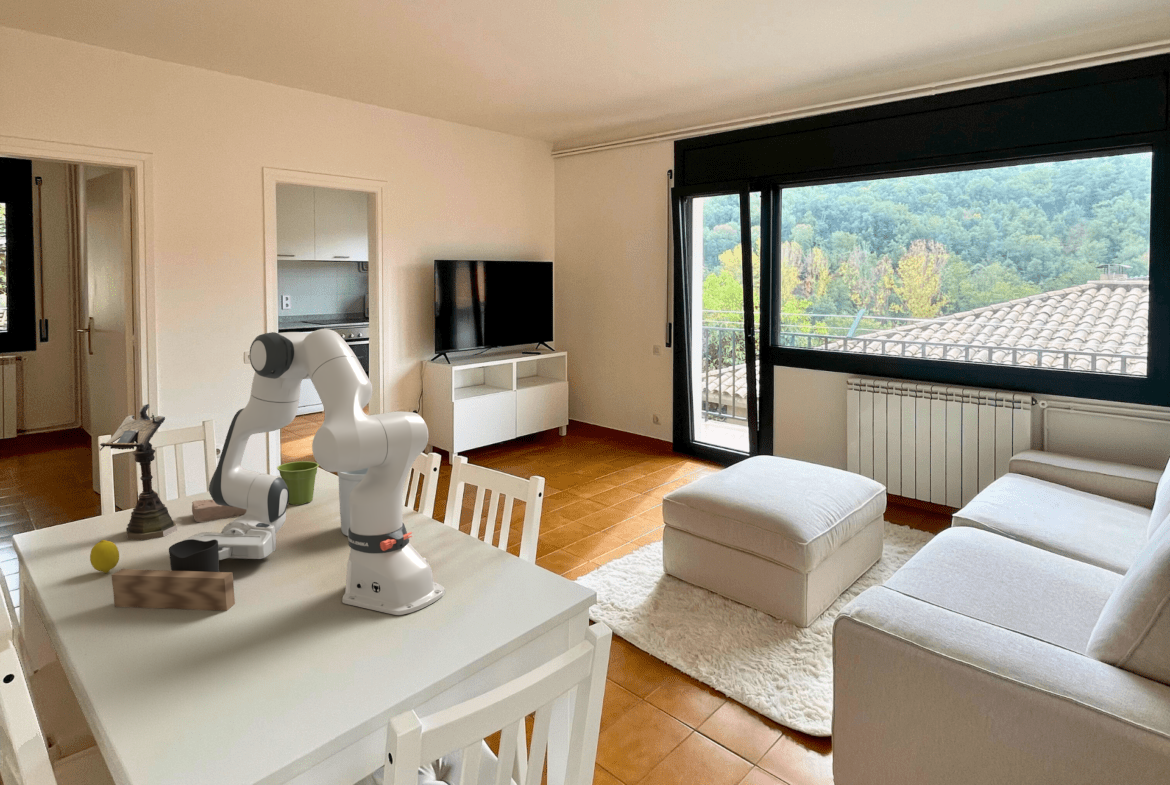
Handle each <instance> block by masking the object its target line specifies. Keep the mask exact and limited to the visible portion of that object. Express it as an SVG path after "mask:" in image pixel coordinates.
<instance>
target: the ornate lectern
mask: <svg viewBox="0 0 1170 785" xmlns="http://www.w3.org/2000/svg"><path fill="white" fill-rule="evenodd" d="M149 408H150V404H149V403H147V404H145V405H144V404H143V405H142V406H141V407H140V409H139V417H138V418H137V419H135V415H132V414H130V415H127V416H126V417H125V418H124V420H123V421H122V422H121V424H120V426H119V427H118V428H117V430H116V431H115V433H114V434H112V436H110V438H109V440H107V442H101V443H99V445H100V446H101V447H100V449H99V452H100V451H102V450H103V449H104V448H105V447H109V449H110V450H111V449H114V450H131V449H132V450H134V451H133V452H132V455H133V456H134V461H135V463H139V465H140V472H141V476H140V477H139V478H140V480H141V482H142V491H141V493H139V495H138V498H137V499H138V500H137V503H135V504H136V505H135V507H133V509H132V510H133V511H132V512H131V514H130V520H129V523H128V524H127V525H126V526H127V527H126V529H125V530H126V536H127V540H137V541H138V540H139V541H146V540H151V539H152V540H153V539H159V538H164V537H165V536H168V535H170V534H172V533H174V532H177V531H178V527H177V523H176V521H175V520H173V519H172V516H170V513H169V510H168V507H167V506H166V504H165V503H163V502H162V500H161V499H160V497H159V494H158V492H157V491H155V490H154V489H153V487H152V486H153V484H152V479H153V478H154V476H153V475H152V470H151V463H152V462H153V461H154V460H155V459H156V458H155V453H156V449H154V448H152V447H153V444H152V443H151V442H150V441H151V439H152V438H153V437H154V435H155V433H156V432H157V430H159V428H160V427H161V425H162V424H163V423H164V422H165V419H166V416H163V415H158V416H156V415H155V413H154V412H152V413H151V416H149V415H148V414H147V411H148V409H149Z"/></svg>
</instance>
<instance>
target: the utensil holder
mask: <svg viewBox="0 0 1170 785" xmlns="http://www.w3.org/2000/svg"><path fill="white" fill-rule="evenodd" d="M368 469H369V468H365V469H360V470H356V471H351V472H336V473H337V476H338V496H339V497H338V498H339V499H338V500H339V516H340V528H341V533H342V534H343V535H344V536H347V537H348V530H349V528H350V514H349V496H350V493H351V491H352V490H353V488H354V487H355V486H356V485H357V484H358V483H360V482H361V481H362V480H363V478H364V477H365V475H366V473H367V471H368Z"/></svg>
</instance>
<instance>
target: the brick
mask: <svg viewBox="0 0 1170 785" xmlns="http://www.w3.org/2000/svg"><path fill="white" fill-rule="evenodd" d="M191 504H192V505H191V513H192V515H193V519H194V521H195V522H196V523H203V522H204V523H205V522H210V521H212V522H213V521H217V520H223V519H229V518H235V517H236V518H237V517H240V516H243V515H244V514H245V513H246V511H247V510H246V509H242V508H238V507H231V506H224V505H218V504H216V503H215V501H214V500H213V499H200V500H199V499H198V500H194V501H193V500H192V502H191Z"/></svg>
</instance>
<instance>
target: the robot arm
mask: <svg viewBox="0 0 1170 785" xmlns="http://www.w3.org/2000/svg"><path fill="white" fill-rule="evenodd" d="M249 362H250V366H251V367H252V369H253V371H254V374H253V379H252V383H251V390H250V396H249V400H248V402H247V404H246V406H245V407H243V408H240V409H239V410H237V412H236V413H235V414H234V415H233V418H232V420H231V422H230V424H229V428H228V431H227V433H226V437H225V440H224V444H223V446H222V451H221V454H220V456H219V460H218V463H217V466H216V468H215V470H214V473H213V475H212V477H211V479H210V482H209V485H208V491H209V495H210V497H211V498H212V499H211V500H214V501H215V503H216V504H218V505H224V506H231V507H238V508H242V509H246V510H247V511H246V513H245V514H244V515H241V516H237V517H236V518H235V519H233V520H232V521H230V522H229V523H227V524H226V525H225V526H223V528H222V529H221V531H220V532H216V531H214V532H210V531H209V532H207V531H206V532H205V531H204V532H198V533H196V534H192V535H190V536H189V537H187V538H185V539H183V540H182V541H184V540H189V539H194V540H200V541H210V540H214V539H215V540H217V541H218V554H219V561H222V560H225V559H241V560H242V559H244V560H248V559H250V560H251V559H252V560H261V559H265V558H266V557H268V556H269V555H271V554H272V553H273V552H274V551H276V550H277V535H276V534H277V533H278V532H279V531H280V530H281V528H282V527H283V526H284V524H285V522H286V519H287V508H288V505H289V503H288V502H289V490H288V487H287V485H286V483H285V481H284V480H283V479H282V477H281V476H276V475H272V474H267V473H264V472H263V473H261V472H258V471H253V470H249V469H246V468H244V467H243V466H242V464H241V463H242V460H243V457H244V455H245V454H244V453H245V450H246V447H247V443H248V440H249V439H250V437H251V436H252V435H257V434H263V433H264V434H265V433H270V432H274V431H279V430H280V429H283V428H286V427H287V426H289V425H290V424H291V423H292V422H293V421H294V420H295V418H296V416H297V413H298V410H299V403H300V396H301V384H302V381H303V380H310V381H311V382H312V385H313V386H314V389H315V390H316V393H317V395H318V396H319V399H320V401H321V404H322V407H323V409H324V420H323V422H322V424H321V426H320V427H319V428H318V429H317V431H316V432H315V434H314V437H313V439H312V443H311V445H312V447H311V448H312V455H313V458H314V460H315V461H316V463H318V464H319V467H320V468H321V469H323V470H325V471H326V472H329V473H337V472H351V471H356V470H360V469H365V468H369V469H368V471H367V473H366V475H365V477H364V478H363V480H362V481H361V482H360V483H358V484H357V485H356V486H355V487H354V488H353V490H352V491H351V493H350V496H349V514H350V528H349V530H348V536H347V540H348V546H349V548H350V552H349V556H348V560H347V563H346V574H345V575H346V579H345V589H344V594H343V595H342V598H341V599H342V604H345V605H349V606H354V607H359V608H364V609H368V610H370V611H371V610H372V611H377V612H381V613H386V614H390V615H395V616H402V615H406V614H410V613H414V612H417V611H419V610H421V609H424V608H426V607H428V606H429V605H431V604H433V603H435V602H436V601H438V600H439V599H441V598H442V597H443V596H444V594H445V593H446V591H445V590H446V589H445V587H444V586H443V585H441V584H440V583H438V582H436V581H434V574H433V571H432V567H431V565H430V564H429V562H428V559H427V558H426V557H425V556H421V554H420V553H419V552H418V551H417V550H416V548H414V546H413V545H412V544H411V543H410V538H412V537H413V536H412V534H413V532H412V531H410V532H408V531H407V527H406V526H405V524H404V522H403V498H404V497H403V495H404V488H405V483H406V480H407V477H408V474H409V472H410V470H411V467H413V466H412V465H413V464H414V462H415V461H416V459H417V458H418V456H420V455H421V454H422V453H423V452H424V451H425V449H426V447H427V445H428V442H429V428H428V425H427V423H426V421H425V420H424V419H423V417H422V416H421V415H420V414H419V413H416V412H412V411H400V410H399V411H396V410H395V411H390V412H383V413H377V414H372V415H371V414H366V413H365V412H364V408H365V407H366V406H367V405H368V404H369V403H370V401H371V400H372V397H373V392H374V391H373V384H372V382H371V380H370V378H369V377H368V374H367V373H366V371H365V370H364V368H363V366H362V364H361V362H360V360H359V359H358V357H357V356H356V354H355V352H354V350H353V349H352V348H351V347H350V346H349V344H348V343H347V342H346V340H345V338H343V337H342V336H341V335H340V333H338V332H337V331H336V330H333V329H329V328H320V329H317V330H314V331H312V332H310V333H309V332H301V331H287V332H275V331H274V332H271V331H270V332H266V333H262V334H259V335H258V336H256V337H255V338H254V340H253V341H252V342H251V345H250V348H249Z"/></svg>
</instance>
